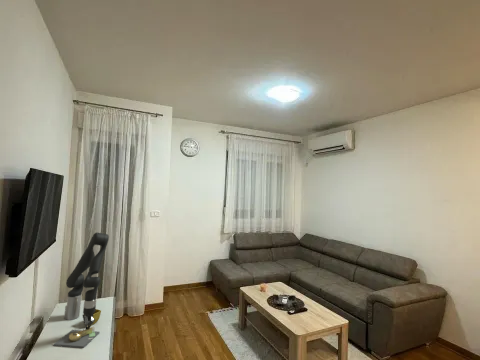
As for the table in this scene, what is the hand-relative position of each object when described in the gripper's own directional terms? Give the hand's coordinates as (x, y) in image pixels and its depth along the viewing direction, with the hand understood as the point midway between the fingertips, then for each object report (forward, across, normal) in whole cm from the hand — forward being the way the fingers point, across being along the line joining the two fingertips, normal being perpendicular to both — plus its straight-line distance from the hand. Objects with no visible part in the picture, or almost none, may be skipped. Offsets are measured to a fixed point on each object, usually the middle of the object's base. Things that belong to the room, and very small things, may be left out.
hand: (87, 330), depth 172 cm
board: (+3, +1, -6) cm, 7 cm away
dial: (+1, +2, -5) cm, 6 cm away
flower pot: (+4, -12, +9) cm, 15 cm away
